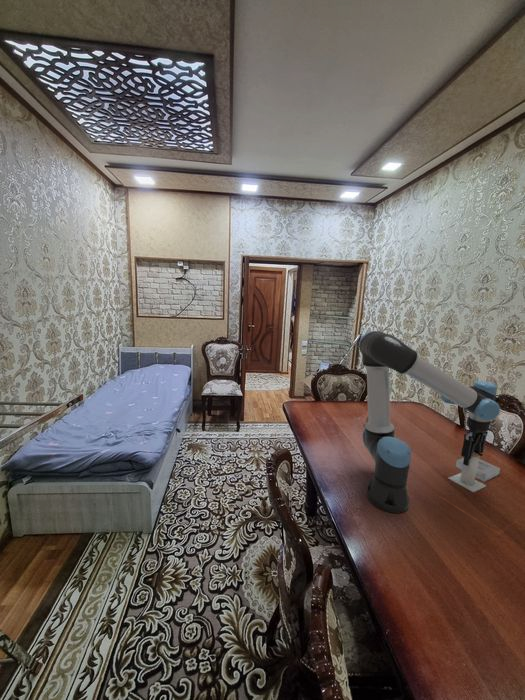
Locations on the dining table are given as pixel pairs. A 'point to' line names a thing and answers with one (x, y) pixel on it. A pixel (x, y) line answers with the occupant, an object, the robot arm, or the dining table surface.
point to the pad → (472, 488)
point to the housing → (486, 473)
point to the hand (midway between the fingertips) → (469, 469)
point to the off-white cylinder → (471, 471)
